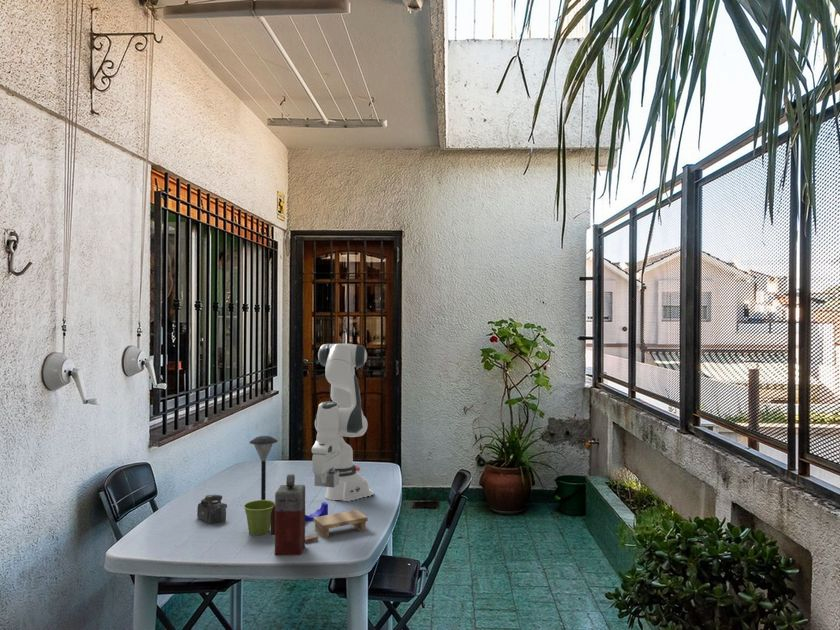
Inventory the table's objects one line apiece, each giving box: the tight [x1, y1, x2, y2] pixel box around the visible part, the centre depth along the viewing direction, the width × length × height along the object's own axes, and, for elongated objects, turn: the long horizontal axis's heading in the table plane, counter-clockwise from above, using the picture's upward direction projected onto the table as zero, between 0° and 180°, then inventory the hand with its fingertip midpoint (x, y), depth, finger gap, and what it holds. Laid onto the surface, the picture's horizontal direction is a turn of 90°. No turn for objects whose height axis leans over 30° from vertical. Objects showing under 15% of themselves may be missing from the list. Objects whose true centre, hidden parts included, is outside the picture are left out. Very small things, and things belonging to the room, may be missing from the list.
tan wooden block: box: [305, 533, 319, 544], centre depth 210 cm, size 5×3×3 cm, turn 127°
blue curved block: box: [305, 501, 329, 522], centre depth 237 cm, size 12×4×6 cm, turn 121°
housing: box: [314, 469, 339, 488], centre depth 225 cm, size 5×8×6 cm, turn 74°
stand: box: [312, 509, 368, 539], centre depth 222 cm, size 18×10×6 cm, turn 121°
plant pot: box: [243, 499, 275, 536], centre depth 220 cm, size 12×12×11 cm
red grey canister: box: [270, 473, 306, 556], centre depth 201 cm, size 9×11×28 cm
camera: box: [196, 494, 228, 524], centre depth 235 cm, size 13×10×10 cm
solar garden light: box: [248, 435, 279, 500], centre depth 252 cm, size 12×12×30 cm
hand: (327, 480), depth 225 cm, fingers closed on housing, 5 cm apart
